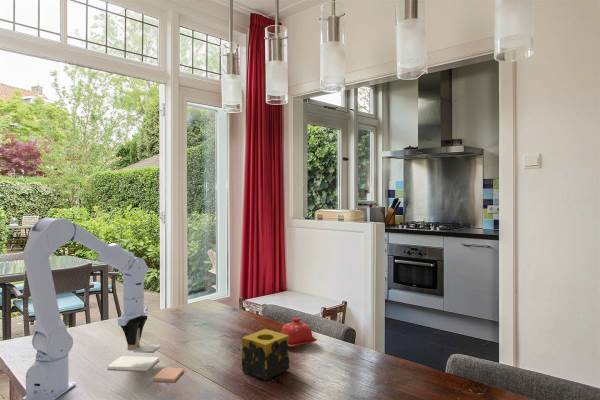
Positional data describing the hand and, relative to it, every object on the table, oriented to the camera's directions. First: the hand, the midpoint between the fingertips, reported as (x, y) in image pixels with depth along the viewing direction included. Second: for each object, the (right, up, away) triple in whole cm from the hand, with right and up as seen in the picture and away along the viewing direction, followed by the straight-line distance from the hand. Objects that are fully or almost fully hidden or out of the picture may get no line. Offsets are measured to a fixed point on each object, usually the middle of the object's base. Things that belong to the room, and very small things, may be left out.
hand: (133, 342), depth 123 cm
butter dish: (+48, -7, +20) cm, 53 cm away
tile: (+10, -6, -8) cm, 14 cm away
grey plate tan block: (+3, -2, 0) cm, 3 cm away
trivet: (0, -7, 0) cm, 7 cm away
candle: (+40, -7, -4) cm, 41 cm away
